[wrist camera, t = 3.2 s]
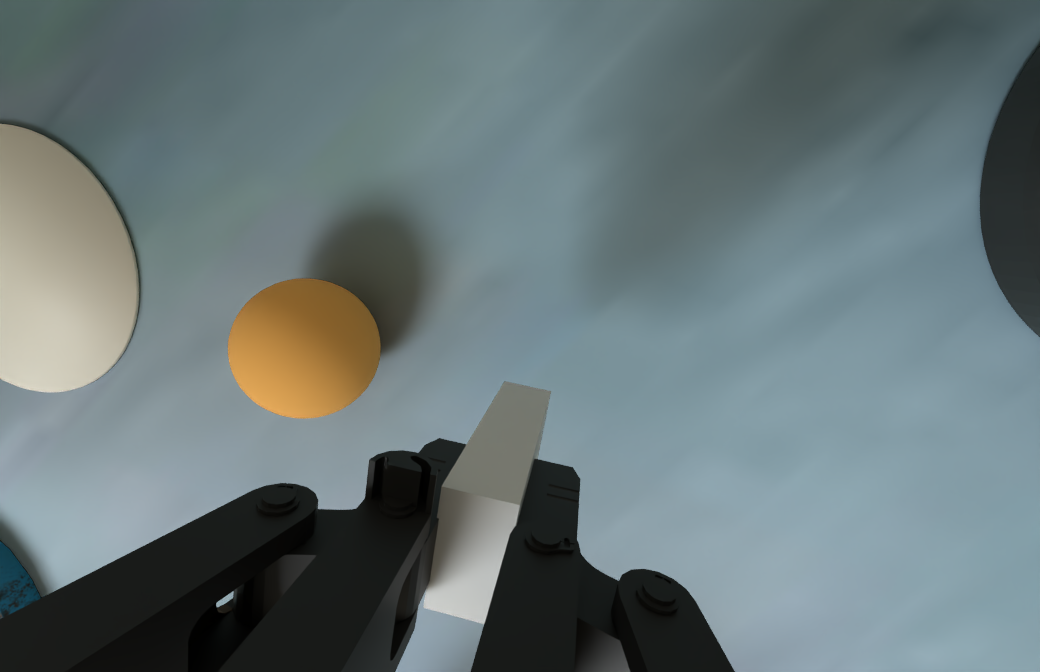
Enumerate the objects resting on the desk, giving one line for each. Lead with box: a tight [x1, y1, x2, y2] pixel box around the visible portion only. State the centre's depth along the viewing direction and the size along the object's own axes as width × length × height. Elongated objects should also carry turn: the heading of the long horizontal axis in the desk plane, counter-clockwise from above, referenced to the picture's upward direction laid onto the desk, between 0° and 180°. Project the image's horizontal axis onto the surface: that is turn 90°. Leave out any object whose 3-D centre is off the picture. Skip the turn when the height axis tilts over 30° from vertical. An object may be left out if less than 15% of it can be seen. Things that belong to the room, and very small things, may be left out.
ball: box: [228, 278, 381, 418], centre depth 19 cm, size 6×6×6 cm
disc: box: [0, 124, 139, 392], centre depth 24 cm, size 13×13×1 cm
